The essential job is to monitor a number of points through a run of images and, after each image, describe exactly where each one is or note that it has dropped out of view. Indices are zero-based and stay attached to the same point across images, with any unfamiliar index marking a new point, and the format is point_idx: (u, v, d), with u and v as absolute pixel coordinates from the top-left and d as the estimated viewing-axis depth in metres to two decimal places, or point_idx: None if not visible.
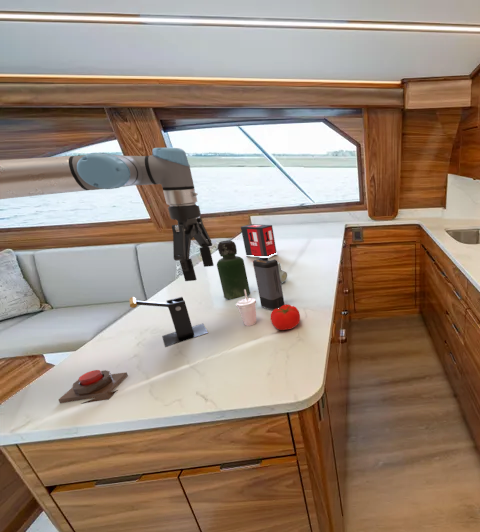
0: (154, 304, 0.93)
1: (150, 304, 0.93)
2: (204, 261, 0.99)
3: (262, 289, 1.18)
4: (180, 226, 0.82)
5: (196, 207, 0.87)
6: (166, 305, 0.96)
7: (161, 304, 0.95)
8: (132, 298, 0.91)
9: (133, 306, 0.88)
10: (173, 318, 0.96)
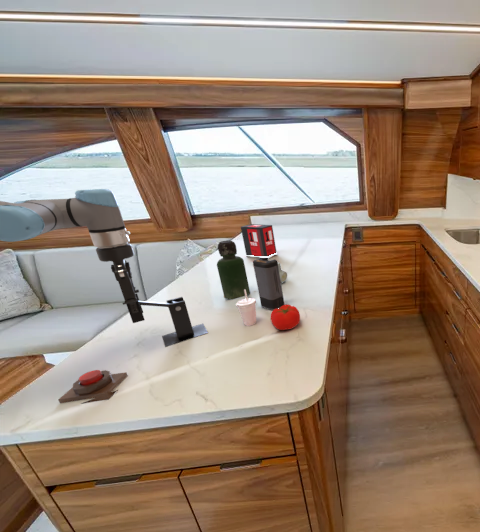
0: (154, 304, 0.93)
1: (150, 304, 0.93)
2: None
3: (262, 289, 1.18)
4: (125, 272, 0.82)
5: (131, 246, 0.86)
6: (166, 305, 0.96)
7: (161, 304, 0.95)
8: None
9: None
10: (173, 318, 0.96)
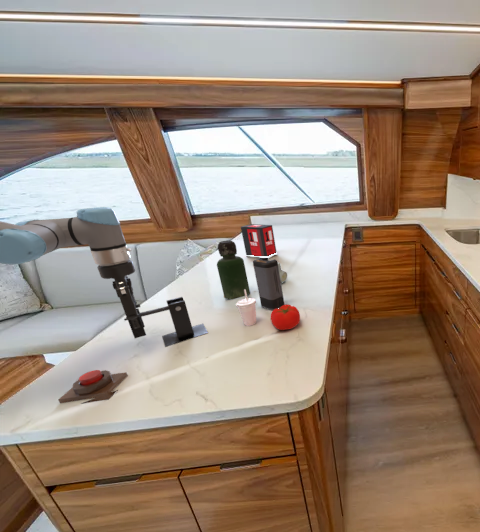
0: (154, 311, 0.94)
1: (150, 313, 0.93)
2: None
3: (262, 289, 1.18)
4: (127, 289, 0.83)
5: (132, 262, 0.87)
6: (166, 308, 0.96)
7: (161, 309, 0.95)
8: None
9: None
10: (173, 318, 0.96)
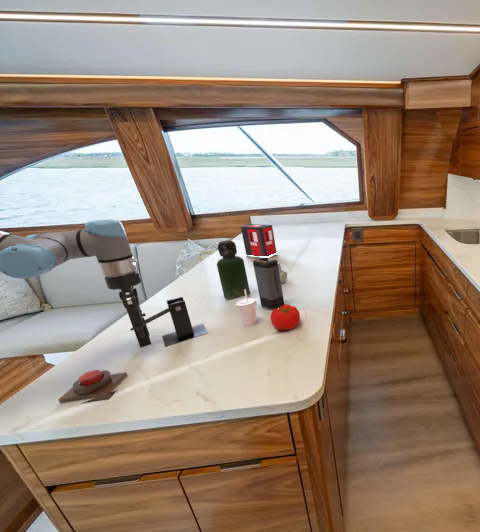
0: (156, 316, 0.94)
1: (153, 318, 0.94)
2: None
3: (262, 289, 1.18)
4: (133, 299, 0.85)
5: (138, 273, 0.89)
6: (167, 311, 0.96)
7: (162, 313, 0.95)
8: None
9: None
10: (173, 318, 0.96)
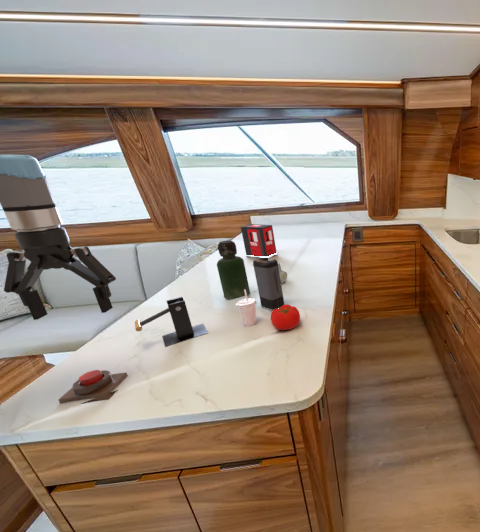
0: (156, 316, 0.94)
1: (153, 318, 0.94)
2: (36, 311, 0.70)
3: (262, 289, 1.18)
4: (87, 247, 0.70)
5: None
6: (167, 311, 0.96)
7: (162, 313, 0.95)
8: (135, 322, 0.93)
9: (139, 329, 0.90)
10: (173, 318, 0.96)
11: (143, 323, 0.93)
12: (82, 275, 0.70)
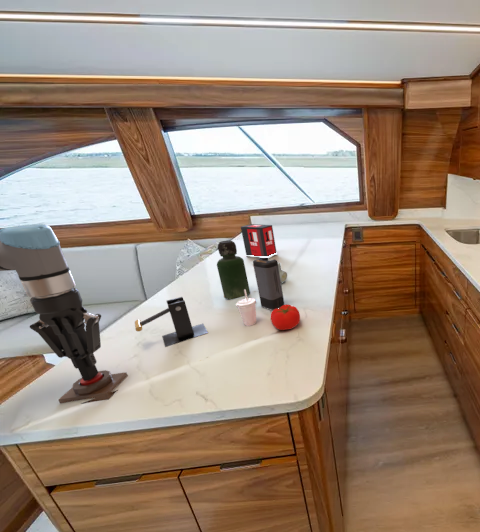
0: (156, 316, 0.94)
1: (153, 318, 0.94)
2: None
3: (262, 289, 1.18)
4: (100, 317, 0.73)
5: None
6: (167, 311, 0.96)
7: (162, 313, 0.95)
8: (135, 322, 0.93)
9: (139, 329, 0.90)
10: (173, 318, 0.96)
11: (143, 323, 0.93)
12: (77, 342, 0.72)
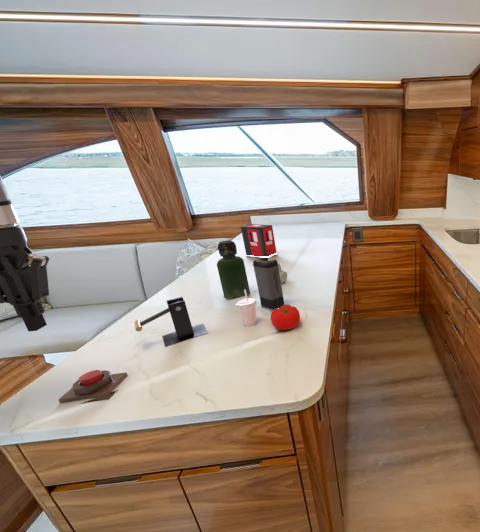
0: (156, 316, 0.94)
1: (153, 318, 0.94)
2: None
3: (262, 289, 1.18)
4: (47, 259, 0.66)
5: None
6: (167, 311, 0.96)
7: (162, 313, 0.95)
8: (135, 322, 0.93)
9: (139, 329, 0.90)
10: (173, 318, 0.96)
11: (143, 323, 0.93)
12: (20, 286, 0.64)
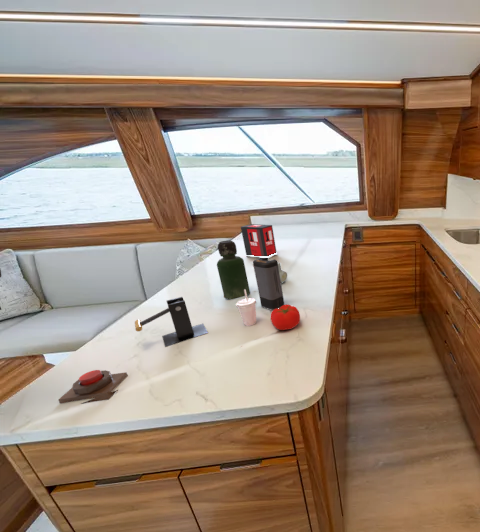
0: (156, 316, 0.94)
1: (153, 318, 0.94)
2: None
3: (262, 289, 1.18)
4: None
5: None
6: (167, 311, 0.96)
7: (162, 313, 0.95)
8: (135, 322, 0.93)
9: (139, 329, 0.90)
10: (173, 318, 0.96)
11: (143, 323, 0.93)
12: None
